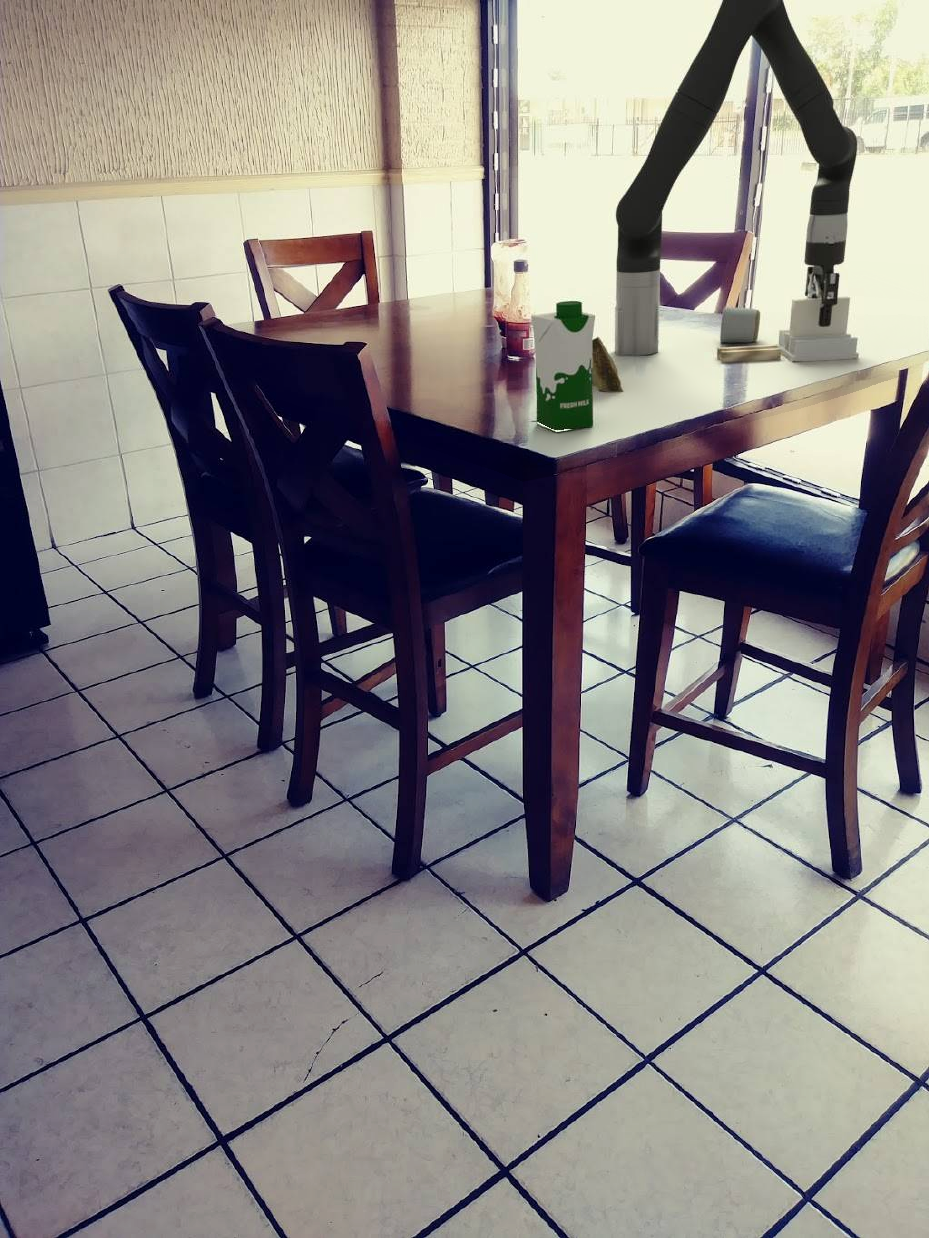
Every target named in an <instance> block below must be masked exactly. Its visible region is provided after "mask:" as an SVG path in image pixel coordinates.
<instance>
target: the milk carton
mask: <svg viewBox="0 0 929 1238" xmlns="http://www.w3.org/2000/svg"><path fill="white" fill-rule="evenodd" d="M555 304H556V305H555V306H556V307H555V308H556V309H555V311H556V312H547V313H541V314H533V315H530V317H531V324H532V330H533V331H532V333H533V339H534V350H535V351H534V352H535V353H534V354H535V384H536V385H535V386H536V387H535V388H536V423H537V422H539V423H541V424H543V425H545V426H547V427H549V428H551V429H554V430H564V429H577V428H582V429H587V428H586V427H588V428H592V427H591V426H593V427H594V397H593V386H594V385H593V375H592V340H593V339H594V331H595V330H594V329H595V320H596V315H595V314H592V313H587V312H584V311H583V302H582V301H578V300H567V301H566V300H565V301H559V302H556V303H555ZM584 427H585V428H584ZM577 430H578V429H577Z"/></svg>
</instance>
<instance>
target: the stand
mask: <svg viewBox="0 0 929 1238" xmlns="http://www.w3.org/2000/svg"><path fill="white" fill-rule="evenodd" d="M716 349H717V350H716V359H720V362H721V363H728V362H729V363H731V362H733V363H734V362H735V363H736V362H752V361H767V360H768V361H769V360H770V361H771V360H781V358H782V354H781V348H777V346H776V344H768V345H767V344H766V345H765V344H763V345H762V344H761V345H747V346H746V345H745V346H744V345H743V346H729V347H728V346H726V347H717V348H716Z"/></svg>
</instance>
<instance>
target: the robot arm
mask: <svg viewBox="0 0 929 1238" xmlns="http://www.w3.org/2000/svg"><path fill="white" fill-rule="evenodd" d="M786 8H787V7H786V6H785V3H784V0H722V2H721V4H720V6H719V9H718V11H717V14H716V16H715V19H714V20H713V23H712V26H711V28H710V30H709V31H708V32H709V33H708V34H707V36H706V38H705V40H704V42H703V43H702V46H701V47H700V48H699V51H697V54H696V56H695V57H694V59H693V61H692V63H691V65H689V66H690V67H689V68H688V70H687V71H686V74H685V75H684V78H683V79H682V81H681V83H680V84H679V85H678V86H679V87H678V88H677V90H676V92H675V94H674V96H673V98H672V99H671V101H670V103H669V105H668V107H667V109H666V111H665V113H664V116H663V118H662V120H661V122H660V125H659V127H658V130H657V131H656V135H655V136H654V139H653V141H652V144H651V147H650V150H649V152H648V155H647V157H646V159H645V161H644V163H643V164H642V166H641V168H640V170H639V171H638V173H637V175H636V176H635V178H634V180H633V181H632V182H631V184H630V185H629V187H628V189H627V190H626V191H625V193H624V194H623V196H622V197H621V198H620V200H619V201H618V203H617V207H616V210H615V221H616V224H617V250H616V282H615V283H616V286H615V287H616V288H615V289H616V290H615V291H616V296H615V297H616V299H615V300H616V302H615V303H616V304H615V305H616V306H615V307H614V308H615V309H614V351H615V353H616V355H618V356H645V355H646V356H647V355H653V354H655V353H657V352H659V334H660V333H659V331H660V329H659V327H660V293H661V292H660V291H661V288H660V287H661V284H660V283H661V258H662V256H661V255H662V235H663V233H662V232H663V231H662V230H663V210H664V208H665V205H666V202H667V200H668V199H669V195H670V193H671V191H672V189H673V188H674V185H675V183H676V181H677V179H678V178H679V176H680V175H681V174H682V171H683V170H684V168H685V167H686V166H687V164H688V163H689V161H691V159H692V157H693V156H694V154H695V153H696V152H697V150H698V149H699V146H700V145H701V144H702V142H703V141H704V138H705V137H706V136H707V134H708V132H709V130H710V129H711V126H712V125H713V123H714V121H715V120H716V117H717V116H718V114H719V112H720V110H721V107H722V105H723V103H724V101H725V100H726V99H725V98H726V96H727V94H728V91H729V88H730V86H731V82H732V79H733V76H734V73H735V69H736V66H737V64H738V61H739V58H740V57H741V54H742V53H743V51H744V49H745V47H746V45H747V44H748V41H749V40H750V38H751V36H752V37H753V39H754V40H755V42H756V43H757V45H758V46H759V47H760V49H761V50H762V52H763V54H764V55H765V57H766V59H767V61H768V64H769V65H770V68H771V69H772V72H773V76H774V77H775V79H776V82H777V84H778V86H779V88H780V91H781V94H782V95H783V98H784V99H785V101H786V103H787V105H788V107H789V109H790V110H791V112H792V115H794V118H795V119H796V121H797V122H798V124H799V126H800V130H801V132H802V135H803V138H804V140H805V144H806V146H807V149H808V151H809V153H810V155H811V157H812V158H813V160H814V161H815V162H816V163H817V164H818V169H817V170H818V171H817V177H816V178H817V179H816V182H815V183H814V186H813V188H812V192H811V197H810V207H809V217H808V218H809V219H808V222H807V229H806V239H805V251H804V264H805V265H806V266H808V267H807V270H806V271H807V272H806V283H805V290H804V295H805V297H806V299H810V298H819V300H820V312H819V323H818V325H819V326H820V327H828V326H830V324H831V314H832V307H834V305H837V302H838V301H837V299H838V297H839V285H840V276H841V275H840V273H839V272H835V266H836V265H837V266H838V265H841V264H843V263H844V262H845V256H846V255H845V253H846V245H847V236H848V235H847V234H848V222H849V221H848V212H849V202H850V189H851V188H850V187H851V181H852V178H853V173H854V170H855V165H856V161H857V160H856V159H857V152H858V140H857V139H858V138H857V136H856V134H855V132H854V131H853V130H852V129H851V128H849V127H847V126H843V124H842V122H841V120H840V118H839V116H838V114H837V113H836V111H835V108H834V106H835V105H834V99H833V96H832V94H831V92H830V91H829V88H828V87H827V85H826V83H825V80H824V79H823V77H822V75H821V73H820V71H819V70H818V68H817V66H816V65H815V64H814V62H813V60H812V58H811V57H810V55H809V54H808V52H807V51H806V49H805V47H804V46H803V44H802V43H801V41H800V40H799V37H798V35H797V34H796V32H795V29H794V27H793V25H792V22H791V20H790V18H789V15H788V11H787V9H786ZM828 297H829V299H827V298H828Z"/></svg>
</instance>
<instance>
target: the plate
mask: <svg viewBox="0 0 929 1238" xmlns="http://www.w3.org/2000/svg"><path fill="white" fill-rule="evenodd" d="M827 299H829V297H828V298H827ZM837 301H838V302H837V305H834V307H832V314H831V324H830V326H828V327H820V326H819V325H818V323H819V312H820V300H819V298H810V299H807V298H797V299H796V298H793V299H791V309H790V310H791V311H790V323H789V330H790V333H789V341H790V337H799V336H817V335H836V334H848V333H847V331H848V322H849V313H850V303H851V297H849V296H847V295H845V296H838V299H837ZM788 349H789V346H788Z"/></svg>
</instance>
